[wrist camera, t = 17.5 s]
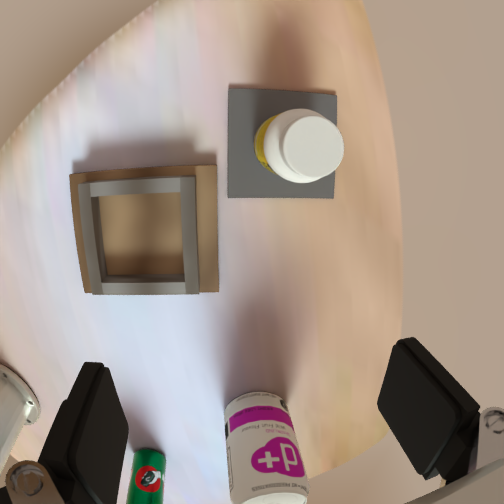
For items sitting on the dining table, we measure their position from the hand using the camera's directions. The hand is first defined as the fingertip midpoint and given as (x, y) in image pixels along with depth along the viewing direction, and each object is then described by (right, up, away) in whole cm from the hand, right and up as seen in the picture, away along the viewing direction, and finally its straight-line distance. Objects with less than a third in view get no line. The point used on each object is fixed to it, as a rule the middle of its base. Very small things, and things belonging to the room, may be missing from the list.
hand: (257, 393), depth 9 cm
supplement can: (0, -16, +29) cm, 33 cm away
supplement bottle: (+3, +14, +19) cm, 23 cm away
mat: (+3, +14, +19) cm, 24 cm away
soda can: (-16, -27, +31) cm, 44 cm away
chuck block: (-10, +6, +20) cm, 23 cm away
